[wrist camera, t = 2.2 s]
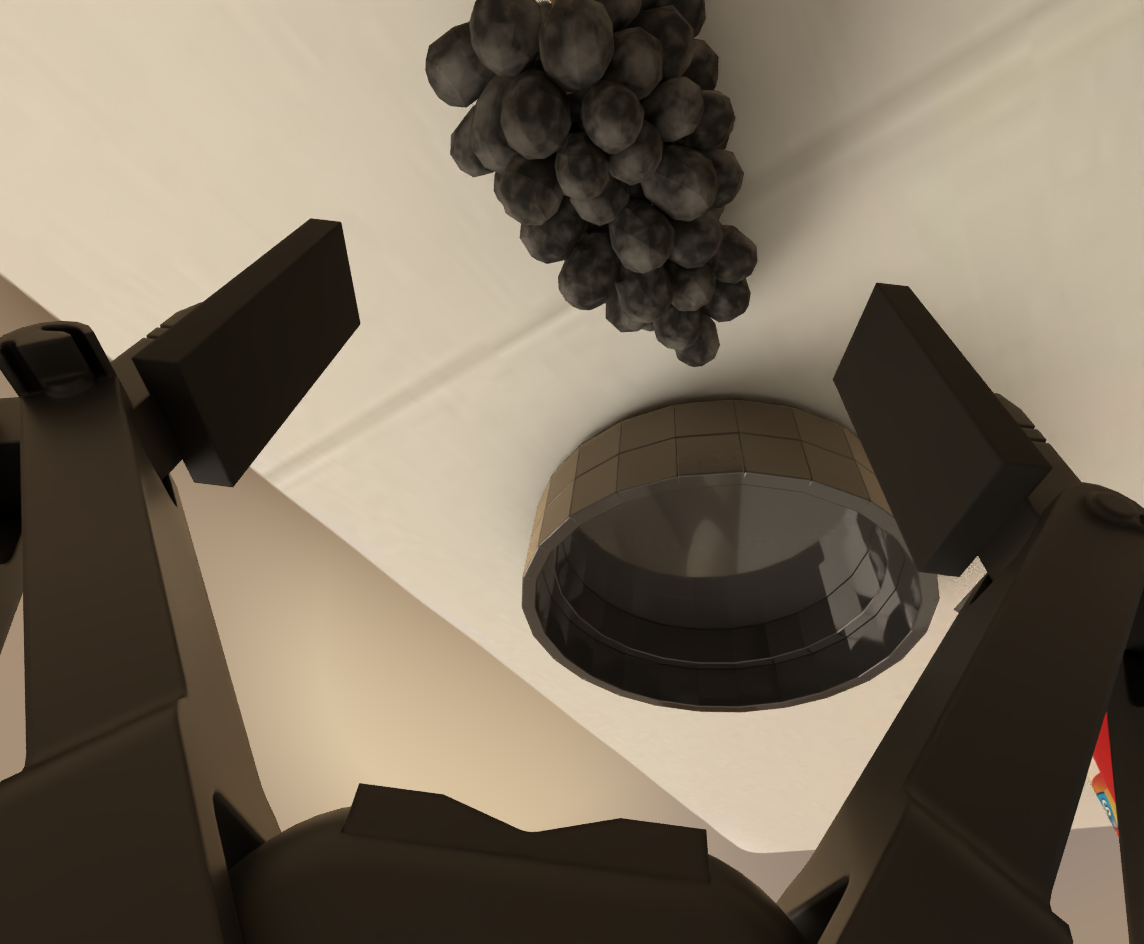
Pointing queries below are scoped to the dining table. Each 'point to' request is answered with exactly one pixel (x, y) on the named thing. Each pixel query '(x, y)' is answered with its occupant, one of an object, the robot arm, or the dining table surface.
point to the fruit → (607, 155)
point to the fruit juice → (1102, 793)
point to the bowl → (723, 561)
